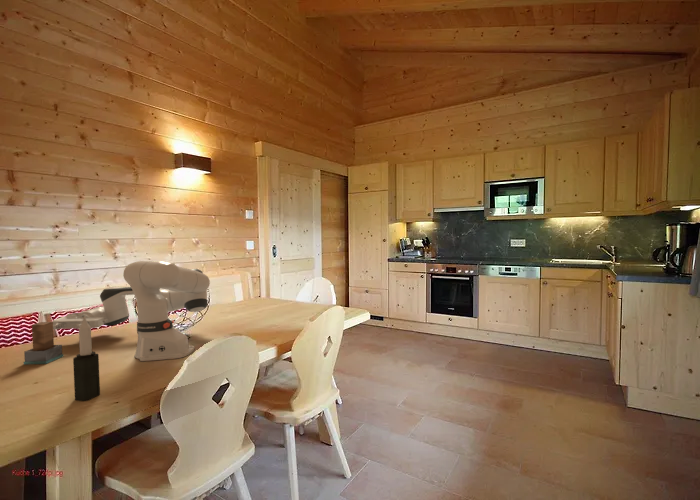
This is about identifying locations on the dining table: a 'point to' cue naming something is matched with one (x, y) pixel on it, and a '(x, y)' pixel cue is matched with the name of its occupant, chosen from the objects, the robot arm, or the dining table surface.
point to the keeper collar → (43, 355)
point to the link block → (42, 336)
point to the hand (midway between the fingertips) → (65, 327)
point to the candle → (86, 367)
